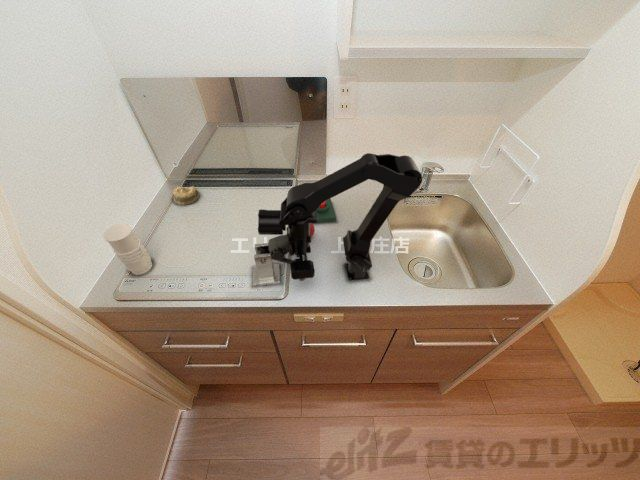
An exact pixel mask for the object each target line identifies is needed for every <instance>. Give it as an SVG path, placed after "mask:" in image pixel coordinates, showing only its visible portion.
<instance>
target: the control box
mask: <svg viewBox="0 0 640 480" xmlns="http://www.w3.org/2000/svg"><path fill="white" fill-rule="evenodd" d="M331 199H332V198H330V199H328V200H326V201H325V202H326V203H325V207H324V208H318V209H317V210H316V211H315V212H317V219H318V222H317V223H316V224H324V223H325V224H327V223H337V216H336V213H335V209H334V206H333V202H332V200H331ZM312 224H313V225H314V223H312Z"/></svg>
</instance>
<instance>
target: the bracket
mask: <svg viewBox="0 0 640 480" xmlns="http://www.w3.org/2000/svg"><path fill="white" fill-rule="evenodd" d="M260 247H261V248H264V249H267V250H269V246H268V242H265V243H263V242H262V243H255V244H254V251H255V254H254V255H253V259H254V263H255V265H253V266H252V286H253V287H255V286H264V285H274V284H281V270H280V269H281V268H280V263H274V260H273V259H271V254H270V253H269V254H258V255H257V252H258V250H259V249H260Z"/></svg>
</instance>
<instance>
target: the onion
mask: <svg viewBox="0 0 640 480" xmlns="http://www.w3.org/2000/svg"><path fill="white" fill-rule="evenodd" d="M315 231H316V228H315V224H314V223H313V224H312V223H310V237H311V238H312V237H313V236H314V235H315Z"/></svg>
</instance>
